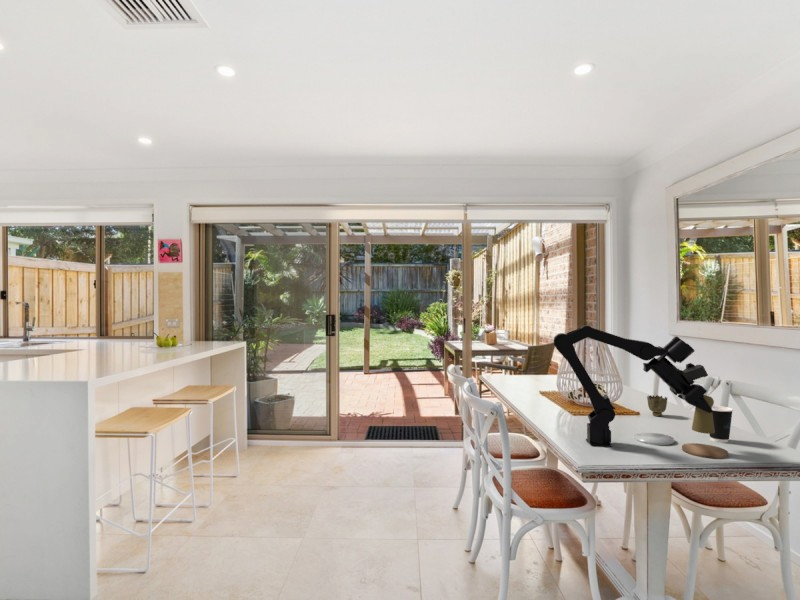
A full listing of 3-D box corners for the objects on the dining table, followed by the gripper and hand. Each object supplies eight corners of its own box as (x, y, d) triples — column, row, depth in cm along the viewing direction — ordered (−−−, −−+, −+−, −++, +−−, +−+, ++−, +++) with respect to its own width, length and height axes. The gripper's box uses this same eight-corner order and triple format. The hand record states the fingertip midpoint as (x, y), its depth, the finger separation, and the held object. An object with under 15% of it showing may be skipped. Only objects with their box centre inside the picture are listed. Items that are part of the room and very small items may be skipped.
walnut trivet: (694, 457, 137) (694, 454, 137) (674, 445, 149) (674, 442, 149) (737, 459, 136) (737, 455, 136) (714, 447, 147) (713, 443, 147)
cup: (643, 414, 193) (642, 395, 193) (656, 413, 195) (656, 394, 195) (657, 418, 185) (657, 398, 186) (671, 417, 188) (671, 397, 188)
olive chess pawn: (700, 426, 147) (701, 392, 146) (719, 432, 141) (720, 397, 141) (687, 428, 144) (687, 394, 144) (705, 434, 139) (706, 398, 138)
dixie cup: (735, 445, 149) (735, 411, 150) (706, 441, 153) (706, 409, 153) (732, 439, 156) (731, 407, 156) (704, 436, 160) (703, 404, 160)
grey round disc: (667, 447, 147) (667, 444, 147) (628, 441, 155) (628, 438, 155) (678, 439, 155) (678, 436, 155) (640, 433, 164) (640, 431, 164)
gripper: (698, 359, 135) (742, 399, 131) (680, 353, 153) (718, 388, 149) (668, 384, 137) (711, 424, 134) (654, 375, 155) (691, 410, 151)
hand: (708, 410), depth 142 cm, fingers closed on olive chess pawn, 5 cm apart
